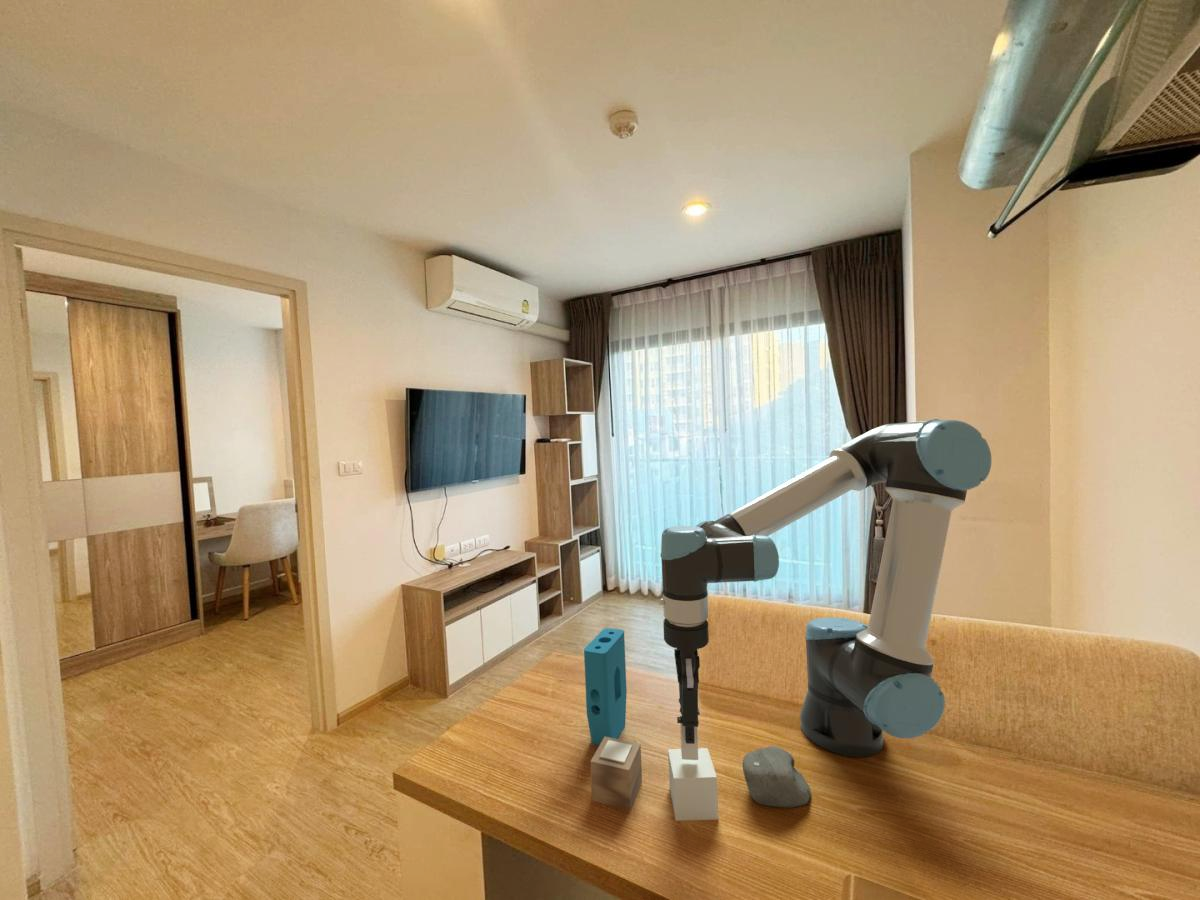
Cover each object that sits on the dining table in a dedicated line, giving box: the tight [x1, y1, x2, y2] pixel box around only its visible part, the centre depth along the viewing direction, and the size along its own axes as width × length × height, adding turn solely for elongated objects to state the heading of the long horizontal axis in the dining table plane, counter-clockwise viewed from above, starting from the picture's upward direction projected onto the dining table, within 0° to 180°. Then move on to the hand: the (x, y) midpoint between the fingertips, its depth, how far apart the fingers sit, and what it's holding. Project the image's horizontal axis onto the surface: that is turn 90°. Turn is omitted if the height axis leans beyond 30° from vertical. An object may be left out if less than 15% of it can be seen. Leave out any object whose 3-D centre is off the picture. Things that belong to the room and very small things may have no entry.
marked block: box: [590, 737, 643, 812], centre depth 80 cm, size 7×7×7 cm
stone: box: [742, 745, 813, 809], centre depth 78 cm, size 9×9×10 cm
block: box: [583, 627, 628, 746], centre depth 96 cm, size 12×5×20 cm, turn 157°
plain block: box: [667, 747, 720, 822], centre depth 77 cm, size 7×7×7 cm
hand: (689, 756), depth 77 cm, fingers closed
